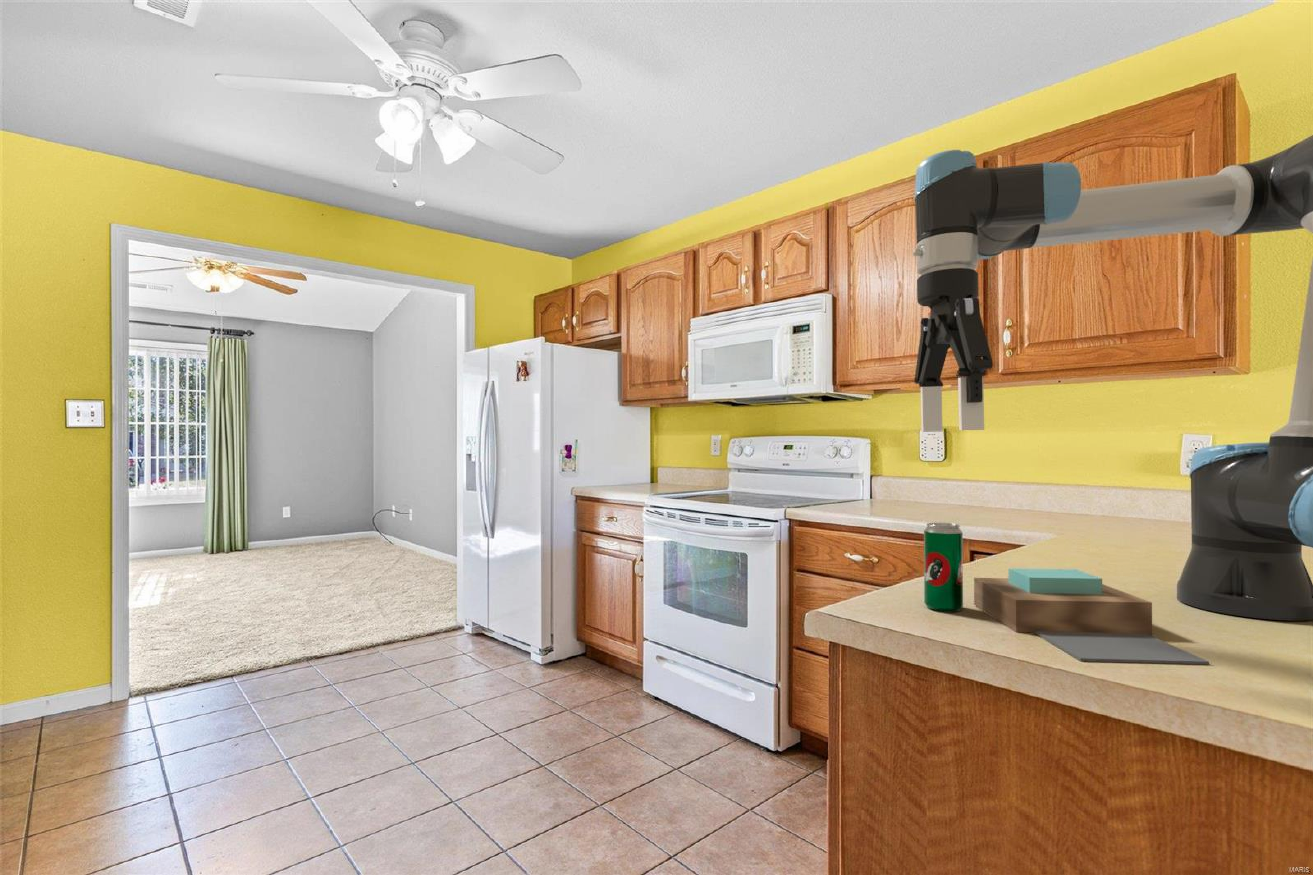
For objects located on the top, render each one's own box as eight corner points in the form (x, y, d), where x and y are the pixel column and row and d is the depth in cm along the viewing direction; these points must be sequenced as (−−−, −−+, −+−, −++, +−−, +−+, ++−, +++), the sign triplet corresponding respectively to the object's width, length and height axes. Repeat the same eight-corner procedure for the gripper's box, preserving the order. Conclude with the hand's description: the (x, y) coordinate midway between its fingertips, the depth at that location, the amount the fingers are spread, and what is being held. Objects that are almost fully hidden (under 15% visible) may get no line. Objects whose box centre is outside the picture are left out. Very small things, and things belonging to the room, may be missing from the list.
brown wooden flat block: (1090, 607, 92) (1090, 579, 92) (1152, 635, 79) (1152, 602, 79) (974, 605, 93) (974, 577, 93) (1016, 631, 80) (1015, 599, 80)
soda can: (967, 613, 89) (966, 527, 89) (928, 612, 90) (928, 526, 90) (957, 604, 94) (957, 522, 94) (921, 603, 95) (920, 521, 95)
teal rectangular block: (1076, 583, 89) (1076, 569, 89) (1102, 594, 83) (1102, 578, 83) (1008, 582, 90) (1008, 568, 90) (1029, 592, 84) (1029, 577, 84)
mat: (1146, 636, 79) (1146, 633, 79) (1208, 664, 69) (1208, 661, 69) (1034, 633, 80) (1034, 631, 80) (1080, 661, 70) (1080, 658, 70)
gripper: (890, 295, 99) (893, 432, 99) (954, 246, 74) (959, 429, 74) (940, 293, 99) (943, 431, 98) (1022, 243, 74) (1026, 428, 73)
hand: (950, 431), depth 86 cm, fingers open, 13 cm apart
